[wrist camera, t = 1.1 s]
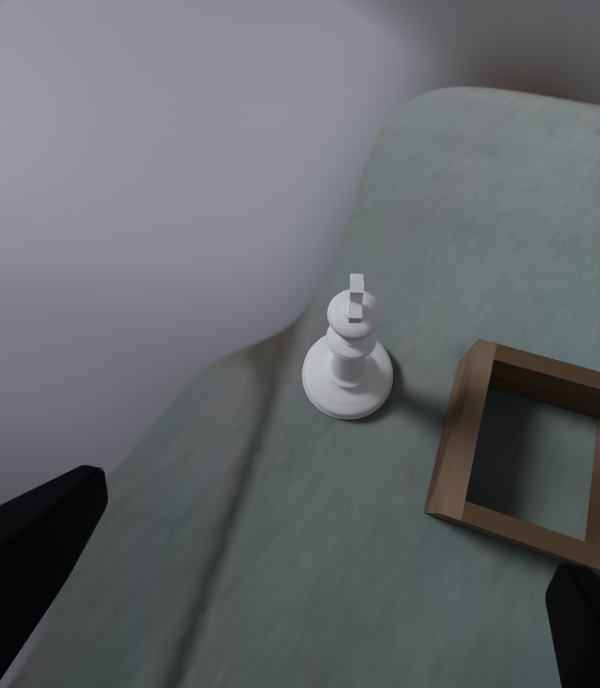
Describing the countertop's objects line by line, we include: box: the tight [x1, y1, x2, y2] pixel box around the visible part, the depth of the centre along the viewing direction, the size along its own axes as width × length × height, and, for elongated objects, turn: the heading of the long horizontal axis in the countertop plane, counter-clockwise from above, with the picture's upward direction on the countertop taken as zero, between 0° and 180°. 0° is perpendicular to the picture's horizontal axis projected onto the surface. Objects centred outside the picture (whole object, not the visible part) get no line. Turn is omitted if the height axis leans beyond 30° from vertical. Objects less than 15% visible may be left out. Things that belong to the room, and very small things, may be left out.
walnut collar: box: [424, 339, 600, 575], centre depth 19 cm, size 8×8×4 cm
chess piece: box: [302, 274, 393, 420], centre depth 19 cm, size 5×5×10 cm
